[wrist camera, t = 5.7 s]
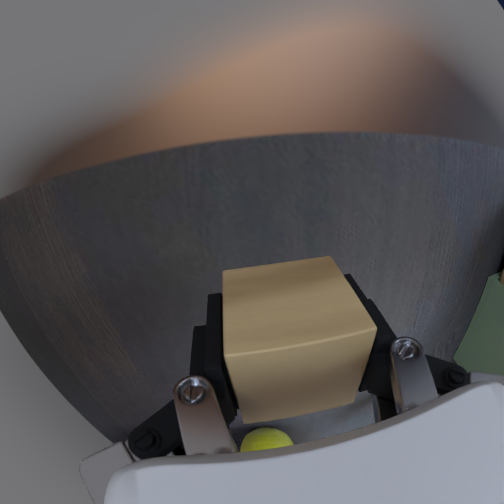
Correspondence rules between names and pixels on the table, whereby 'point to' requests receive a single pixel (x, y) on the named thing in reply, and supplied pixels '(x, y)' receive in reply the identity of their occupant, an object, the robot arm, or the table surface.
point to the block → (293, 338)
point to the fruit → (265, 439)
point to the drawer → (502, 278)
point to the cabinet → (485, 332)
